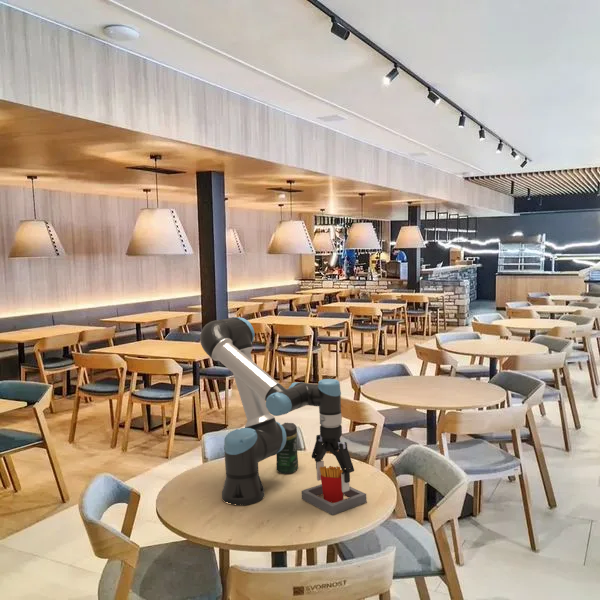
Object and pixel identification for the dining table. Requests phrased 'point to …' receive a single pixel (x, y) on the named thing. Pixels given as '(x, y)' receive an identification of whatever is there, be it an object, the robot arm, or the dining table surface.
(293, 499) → the dining table surface
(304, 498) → the gray square frame
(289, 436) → the coffee jar
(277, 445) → the robot arm
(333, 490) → the french fries
